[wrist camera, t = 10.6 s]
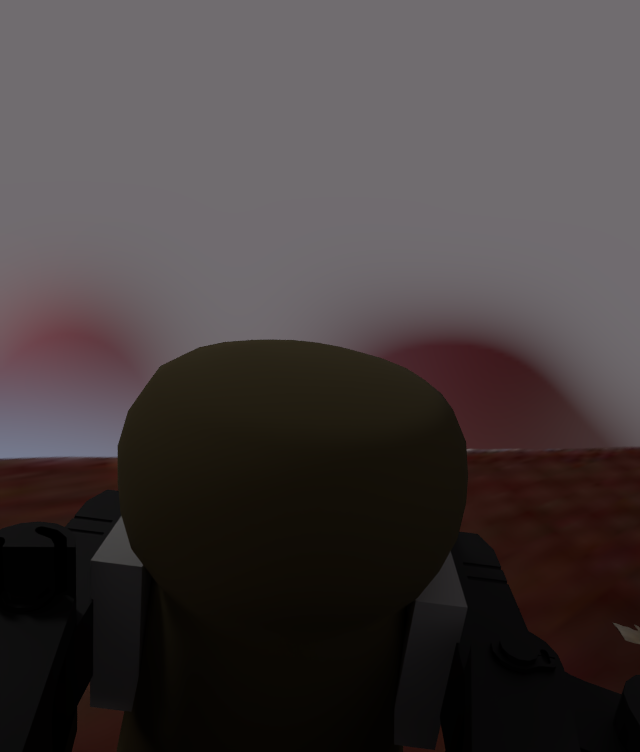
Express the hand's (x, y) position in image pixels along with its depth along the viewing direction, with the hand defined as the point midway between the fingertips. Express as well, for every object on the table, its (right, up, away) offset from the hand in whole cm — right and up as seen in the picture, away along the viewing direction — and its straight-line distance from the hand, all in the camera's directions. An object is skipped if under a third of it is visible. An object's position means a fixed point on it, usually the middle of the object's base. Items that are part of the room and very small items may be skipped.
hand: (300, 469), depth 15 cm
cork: (-1, -8, -3) cm, 9 cm away
